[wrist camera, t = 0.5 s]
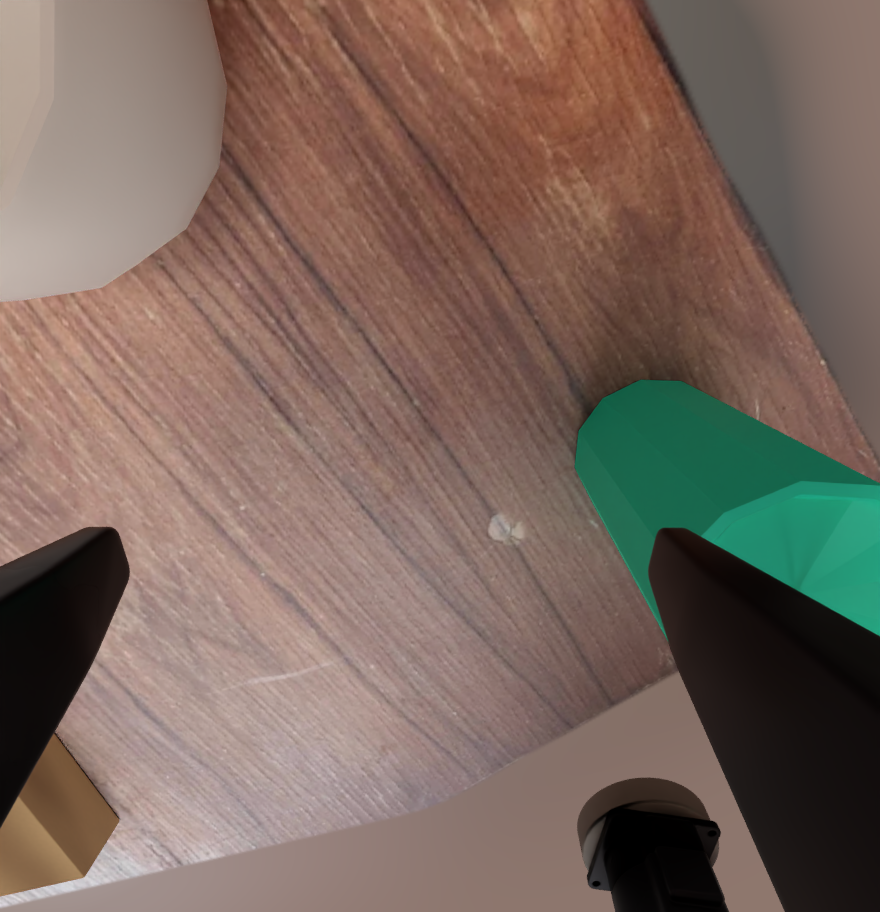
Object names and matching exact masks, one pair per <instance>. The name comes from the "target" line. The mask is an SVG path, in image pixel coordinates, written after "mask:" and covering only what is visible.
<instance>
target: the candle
mask: <svg viewBox="0 0 880 912" xmlns="http://www.w3.org/2000/svg"><path fill="white" fill-rule="evenodd" d="M575 469H576V471H577V473H578V475H579V477H580V479H581V481H582V483H583V485H584V487H585V489H586V491H587V493H588V496H589V498H590V499H591V501H592V503H593V505H594V507H595V509H596V510H597V512H598V514H599V516H600V518H601V520H602V521H603V523H604V525H605V527H606V529H607V531H608V532H609V534H610V536H611V538H612V540H613V542H614V543H615V545H616V547H617V549H618V551H619V553H620V554H621V556H622V558H623V560H624V562H625V564H626V565H627V567H628V569H629V571H630V573H631V575H632V576H633V578H634V580H635V582H636V584H637V586H638V587H639V589H640V591H641V593H642V595H643V597H644V598H645V600H646V602H647V604H648V606H649V608H650V609H651V611H652V613H653V615H654V617H655V619H656V620H657V622H658V624H659V626H660V628H661V630H662V631H663V633H664V635H665V637H666V639H667V636H666V633H665V630H664V626H663V623H662V620H661V617H660V614H659V610H658V607H657V604H656V601H655V598H654V594H653V591H652V588H651V585H650V581H649V577H648V567H649V562H650V558H651V554H652V550H653V546H654V542H655V538H656V534H657V532H658V531H659V530H660V529H661V528H686V529H688V530H690V531H692V532H694V533H696V534H697V535H699V536H701V537H703V538H704V539H706V540H708V541H710V542H712V543H713V544H715V545H717V546H719V547H721V548H722V549H724V550H726V551H728V552H730V553H731V554H733V555H735V556H737V557H739V558H740V559H742V560H744V561H746V562H748V563H749V564H751V565H753V566H755V567H757V568H758V569H760V570H762V571H764V572H765V573H767V574H769V575H771V576H773V577H774V578H776V579H778V580H780V581H782V582H783V583H785V584H787V585H789V586H791V587H792V588H794V589H796V590H798V591H800V592H801V593H803V594H805V595H807V596H809V597H810V598H812V599H814V600H816V601H818V602H819V603H821V604H823V605H825V606H827V607H828V608H830V609H832V610H834V611H836V612H837V613H839V614H841V615H843V616H845V617H846V618H848V619H850V620H852V621H853V622H855V623H857V624H859V625H861V626H862V627H864V628H866V629H868V630H870V631H871V632H873V633H875V634H877V635H879V636H880V483H878V482H876V481H874V480H872V479H870V478H868V477H866V476H864V475H862V474H860V473H858V472H856V471H855V470H853V469H851V468H849V467H847V466H845V465H843V464H841V463H839V462H837V461H835V460H833V459H831V458H829V457H827V456H826V455H824V454H822V453H820V452H818V451H816V450H814V449H812V448H810V447H808V446H806V445H804V444H802V443H800V442H798V441H797V440H795V439H793V438H791V437H789V436H787V435H785V434H783V433H781V432H779V431H777V430H775V429H773V428H771V427H769V426H768V425H766V424H764V423H762V422H760V421H758V420H756V419H754V418H752V417H750V416H748V415H746V414H744V413H742V412H740V411H739V410H737V409H735V408H733V407H731V406H729V405H727V404H725V403H723V402H721V401H719V400H717V399H715V398H713V397H711V396H709V395H708V394H706V393H704V392H702V391H700V390H698V389H696V388H694V387H692V386H690V385H688V384H686V383H684V382H682V381H667V380H639V381H637V382H635V383H633V384H631V385H629V386H626V387H624V388H622V389H620V390H618V391H616V392H614V393H612V394H610V395H608V396H606V397H604V398H602V400H601V401H600V402H599V404H598V405H597V406H596V408H595V409H594V411H593V412H592V413H591V415H590V416H589V417H588V419H587V420H586V421H585V423H584V424H583V425H582V427H581V428H580V430H579V432H578V441H577V449H576V458H575ZM667 641H668V639H667Z"/></svg>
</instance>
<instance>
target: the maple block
mask: <svg viewBox="0 0 880 912" xmlns="http://www.w3.org/2000/svg"><path fill="white" fill-rule="evenodd" d="M118 823H119V819H118V818H117V816H116V815H115V814H114V812H113V811H112V810H111V808H110V807H109V806H108V804H107V803H106V802H105V800H104V799H103V798H102V796H101V795H100V794H99V792H98V791H97V790H96V788H95V787H94V786H93V784H92V783H91V782H90V780H89V779H88V778H87V776H86V775H85V774H84V772H83V771H82V770H81V769H80V767H79V766H78V765H77V763H76V762H75V761H74V759H73V758H72V757H71V755H70V754H69V753H68V751H67V750H66V749H65V747H64V746H63V745H62V743H61V742H60V741H59V739H58V738H57V737H56V735H55V734H53V736H52V737H51V739H50V741H49V743H48V745H47V746H46V748H45V750H44V752H43V753H42V755H41V757H40V759H39V761H38V762H37V764H36V766H35V768H34V770H33V771H32V773H31V775H30V777H29V778H28V780H27V782H26V784H25V786H24V787H23V789H22V791H21V793H20V795H19V796H18V798H17V800H16V802H15V803H14V805H13V807H12V809H11V811H10V812H9V814H8V816H7V818H6V819H5V821H4V823H3V825H2V827H1V828H0V896H4V895H9V894H13V893H17V892H22V891H26V890H31V889H35V888H40V887H44V886H49V885H53V884H58V883H62V882H67V881H71V880H76V879H80V878H84V877H85V876H86V874H87V872H88V871H89V869H90V868H91V866H92V864H93V863H94V861H95V860H96V858H97V856H98V855H99V853H100V852H101V850H102V848H103V847H104V845H105V844H106V842H107V840H108V839H109V837H110V836H111V834H112V832H113V831H114V829H115V828H116V826H117V824H118Z"/></svg>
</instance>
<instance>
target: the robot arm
mask: <svg viewBox="0 0 880 912" xmlns="http://www.w3.org/2000/svg"><path fill="white" fill-rule="evenodd" d="M129 575H130V569H129V564H128V561H127V558H126V554H125V551H124V548H123V545H122V542H121V539H120V536H119V533H118V532H117V531H116V530H115V529H114V528H112V527H87V528H84V529H81V530H79V531H77V532H75V533H73V534H70V535H68V536H66V537H64V538H62V539H59V540H57V541H55V542H53V543H51V544H49V545H46V546H44V547H42V548H40V549H38V550H35V551H33V552H31V553H29V554H27V555H24V556H22V557H20V558H18V559H16V560H14V561H11V562H9V563H7V564H5V565H3V566H0V828H1V827H2V825H3V823H4V821H5V819H6V818H7V816H8V814H9V812H10V811H11V809H12V807H13V805H14V803H15V802H16V800H17V798H18V796H19V795H20V793H21V791H22V789H23V787H24V786H25V784H26V782H27V780H28V778H29V777H30V775H31V773H32V771H33V770H34V768H35V766H36V764H37V762H38V761H39V759H40V757H41V755H42V753H43V752H44V750H45V748H46V746H47V745H48V743H49V741H50V739H51V737H52V736H53V734H54V732H55V730H56V728H57V727H58V725H59V723H60V721H61V720H62V718H63V716H64V714H65V712H66V711H67V709H68V707H69V705H70V703H71V702H72V700H73V698H74V696H75V695H76V693H77V691H78V689H79V687H80V686H81V684H82V682H83V680H84V678H85V677H86V675H87V673H88V671H89V669H90V667H91V665H92V663H93V661H94V659H95V657H96V655H97V653H98V650H99V648H100V646H101V643H102V641H103V639H104V637H105V634H106V632H107V630H108V627H109V625H110V623H111V620H112V618H113V616H114V613H115V611H116V609H117V606H118V604H119V602H120V599H121V597H122V595H123V592H124V590H125V588H126V585H127V583H128V580H129ZM648 577H649V581H650V585H651V588H652V591H653V594H654V598H655V601H656V604H657V607H658V610H659V614H660V617H661V620H662V623H663V626H664V630H665V633H666V636H667V639H668V642H669V646H670V649H671V652H672V654H673V657H674V660H675V663H676V665H677V668H678V670H679V673H680V675H681V677H682V680H683V682H684V684H685V686H686V689H687V691H688V693H689V695H690V697H691V700H692V702H693V704H694V707H695V709H696V711H697V714H698V716H699V718H700V720H701V723H702V725H703V727H704V729H705V732H706V734H707V736H708V739H709V741H710V743H711V745H712V747H713V750H714V752H715V754H716V757H717V759H718V761H719V763H720V765H721V768H722V770H723V773H724V775H725V777H726V779H727V781H728V784H729V786H730V788H731V791H732V793H733V795H734V797H735V800H736V802H737V804H738V807H739V809H740V811H741V813H742V816H743V818H744V820H745V822H746V825H747V827H748V829H749V832H750V834H751V836H752V838H753V841H754V843H755V845H756V847H757V850H758V852H759V854H760V856H761V859H762V861H763V863H764V866H765V868H766V870H767V872H768V874H769V877H770V879H771V881H772V884H773V886H774V888H775V890H776V893H777V895H778V897H779V899H780V902H781V904H782V906H783V909H784V911H785V912H880V636H879V635H877V634H875V633H873V632H871V631H870V630H868V629H866V628H864V627H862V626H861V625H859V624H857V623H855V622H853V621H852V620H850V619H848V618H846V617H845V616H843V615H841V614H839V613H837V612H836V611H834V610H832V609H830V608H828V607H827V606H825V605H823V604H821V603H819V602H818V601H816V600H814V599H812V598H810V597H809V596H807V595H805V594H803V593H801V592H800V591H798V590H796V589H794V588H792V587H791V586H789V585H787V584H785V583H783V582H782V581H780V580H778V579H776V578H774V577H773V576H771V575H769V574H767V573H765V572H764V571H762V570H760V569H758V568H757V567H755V566H753V565H751V564H749V563H748V562H746V561H744V560H742V559H740V558H739V557H737V556H735V555H733V554H731V553H730V552H728V551H726V550H724V549H722V548H721V547H719V546H717V545H715V544H713V543H712V542H710V541H708V540H706V539H704V538H703V537H701V536H699V535H697V534H696V533H694V532H692V531H690V530H688V529H686V528H661V529H660V530H659V531H658V532H657V534H656V538H655V542H654V546H653V550H652V554H651V558H650V562H649V567H648ZM720 835H721V831H720V829H719V827H718V824H717V823H716V822H714V821H711V820H704V819H696V818H689V817H682V816H674V815H667V814H660V813H653V812H645V811H638V810H631V809H624V808H613V809H611V810H609V812H608V814H607V817H606V820H605V823H604V826H603V829H602V832H601V835H600V838H599V841H598V844H597V847H596V850H595V853H594V856H593V859H592V862H591V865H590V868H589V871H588V874H587V881H588V885H589V887H591V888H592V889H598V890H604V891H611V895H612V899H613V903H614V908H615V912H729V911H728V908H727V906H726V904H725V901H724V900H725V898H724V895H723V893H722V890H721V888H720V885H719V883H718V880H717V878H716V875H715V873H714V871H713V868H712V866H711V863H710V861H709V860H710V858H711V855H712V853H713V851H714V849H715V846H716V844H717V842H718V840H719V837H720Z"/></svg>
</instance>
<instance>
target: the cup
mask: <svg viewBox="0 0 880 912" xmlns="http://www.w3.org/2000/svg"><path fill="white" fill-rule="evenodd" d="M226 95H227V83H226V79H225V74H224V70H223V66H222V61H221V57H220V53H219V49H218V44H217V40H216V36H215V32H214V27H213V23H212V19H211V14H210V10H209V6H208V2H207V0H0V302H7V301H20V300H29V299H35V298H41V297H48V296H54V295H60V294H67V293H73V292H79V291H86V290H92V289H98V288H102V287H104V286H105V285H107V284H108V283H110V282H112V281H113V280H115V279H116V278H118V277H119V276H121V275H122V274H124V273H125V272H127V271H128V270H130V269H132V268H133V267H135V266H136V265H137V264H139V263H140V262H142V261H143V260H144V259H146V258H147V257H148V256H150V255H151V254H153V253H154V252H155V251H157V250H158V249H159V248H161V247H162V246H163V245H165V244H166V243H168V242H169V241H170V240H172V239H173V238H174V237H176V236H177V235H179V234H180V233H181V232H183V231H184V230H185V229H187V227H188V225H189V223H190V221H191V220H192V218H193V216H194V214H195V212H196V210H197V208H198V206H199V204H200V203H201V201H202V199H203V197H204V195H205V193H206V191H207V189H208V187H209V185H210V184H211V182H212V180H213V178H214V176H215V174H216V172H217V170H218V168H219V165H220V155H221V145H222V135H223V125H224V115H225V105H226Z"/></svg>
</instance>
